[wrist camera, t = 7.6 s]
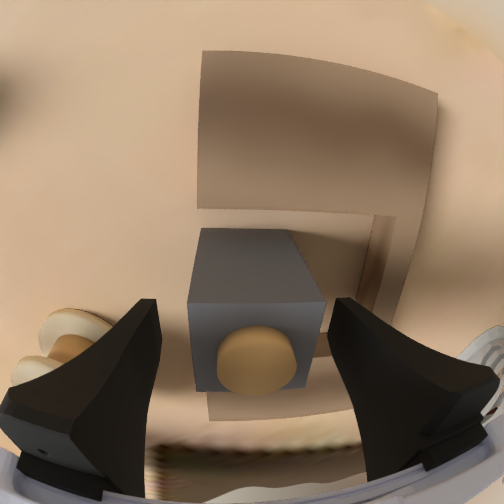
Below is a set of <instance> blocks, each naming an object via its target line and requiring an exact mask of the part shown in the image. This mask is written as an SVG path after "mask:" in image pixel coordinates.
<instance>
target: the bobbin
mask: <svg viewBox="0 0 504 504" xmlns="http://www.w3.org/2000/svg"><path fill="white" fill-rule="evenodd" d="M112 327H113V326H111V325H110V324H109V323H107V322H106V321H104V320H102V319H101V318H99V317H97V316H95V315H93V314H90V313H87V312H85V311H81V310H76V309H61V310H58V311H55V312H53V313H52V314H51V315H49V316H48V318H47V319H46V320H45V322H44V323H43V325H42V326H41V328H40V331H39V344H40V348H41V350H42V353H43V355H44V356H45V357H41V356H27V357H24V358H22V359H21V360H20V361H19V362H18V364H17V366H16V367H15V369H14V371H13V373H12V376H11V380H12V385H13V386H16V385H19V384H22V383H25V382H28V381H30V380H33V379H35V378H38V377H40V376H42V375H44V374H46V373H48V372H50V371H52V370H54V369H56V368H58V367H60V366H61V365H63V364H65V363H66V362H68V361H70V360H71V359H73V358H75V357H76V356H78V355H79V354H80V353H82V352H83V351H85V350H86V349H87V348H89V347H90V346H91V345H93V344H94V343H95V342H96V341H98V340H99V339H100V338H101V337H102V336H103V335H104V334H105V333H107V332H108V331H109V330H110V329H111V328H112Z"/></svg>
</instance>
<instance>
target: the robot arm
mask: <svg viewBox="0 0 504 504" xmlns="http://www.w3.org/2000/svg"><path fill="white" fill-rule="evenodd" d="M327 339H328V343H329V347H330V350H331V354H332V357H333V359H334V362H335V364H336V366H337V369H338V371H339V373H340V376H341V378H342V380H343V383H344V385H345V387H346V390H347V392H348V394H349V397H350V399H351V402H352V405H353V408H354V412H355V415H356V419H357V423H358V427H359V431H360V436H361V440H362V446H363V451H364V457H365V464H366V472H367V483H363V484H360V485H356V486H353V487H349V488H345V489H341V490H336V491H332V492H327V493H322V494H317V495H312V496H306V497H300V498H294V499H286V500H278V501H268V502H255V503H235V504H464V503H466V502H467V501H469V500H470V499H472V498H473V497H475V496H476V495H477V494H479V493H480V492H482V491H483V490H484V489H486V488H487V487H488V486H490V485H491V484H492V483H494V482H495V481H496V480H498V479H499V478H500V477H501V476H503V475H504V414H501V415H500V416H498V417H497V418H495V419H494V420H492V421H490V422H489V423H488V424H486V425H485V426H484V427H483V426H482V424H481V422H482V421H483V419H484V417H483V415H482V414H481V411H482V410H483V409H484V408H485V406H486V405H487V404H488V403H489V401H490V400H491V399H492V397H493V396H494V395H495V393H496V392H497V390H498V388H499V385H500V379H499V377H498V376H497V375H496V373H495V372H494V371H493V370H492V368H491V367H489V366H485V365H480V364H475V363H470V362H466V361H463V360H460V359H456V358H453V357H450V356H448V355H445V354H442V353H440V352H438V351H435V350H433V349H430V348H428V347H426V346H424V345H422V344H420V343H418V342H416V341H415V340H413V339H411V338H409V337H407V336H406V335H404V334H402V333H401V332H399V331H398V330H396V329H395V328H393V327H392V326H390V325H389V324H387V323H386V322H384V321H383V320H381V319H380V318H378V317H377V316H376V315H374V314H373V313H372V312H370V311H369V310H367V309H366V308H365V307H363V306H362V305H360V304H359V303H357V302H356V301H354V300H353V299H351V298H349V297H348V298H336V301H335V305H334V309H333V313H332V317H331V321H330V325H329V329H328V333H327ZM161 345H162V334H161V328H160V322H159V316H158V309H157V302H156V299H140V300H139V301H138V302H137V303H136V304H135V305H134V306H133V307H132V308H131V309H130V310H129V311H128V312H127V313H126V314H125V315H124V316H123V317H122V318H121V319H120V320H119V321H118V322H117V323H116V324H115V325H114V326H113V327H112V328H111V329H110V330H109V331H108V332H107V333H105V334H104V335H103V336H102V337H101V338H100V339H99V340H98V341H96V342H95V343H94V344H93V345H91V346H90V347H89V348H87V349H86V350H85V351H83V352H82V353H80V354H79V355H78V356H76V357H75V358H73V359H71V360H70V361H68V362H66V363H65V364H63V365H61V366H60V367H58V368H56V369H54V370H52V371H50V372H48V373H46V374H44V375H42V376H40V377H38V378H35V379H33V380H30V381H28V382H25V383H22V384H19V385H16V386H13V387H10V388H9V389H8V391H7V393H6V395H5V397H4V399H3V401H2V403H1V405H0V428H1V429H2V430H3V432H4V433H5V434H6V435H7V436H8V437H9V438H10V439H11V440H12V441H13V442H14V444H15V445H16V446H17V447H18V448H19V449H20V450H21V451H22V452H21V455H20V457H18V456H17V455H15V454H14V453H12V452H10V451H8V450H6V449H4V448H2V447H0V504H205V503H184V502H172V501H162V500H154V499H146V498H145V485H144V452H145V434H146V423H147V413H148V407H149V402H150V398H151V394H152V389H153V385H154V381H155V377H156V373H157V369H158V365H159V361H160V354H161Z"/></svg>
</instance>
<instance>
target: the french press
mask: <svg viewBox="0 0 504 504" xmlns="http://www.w3.org/2000/svg"><path fill="white" fill-rule="evenodd" d="M457 359H460V360H463V361H466V362H470V363H475V364H480V365H485V366H489V367H491V368H492V370H493V371H494V372H495V373H496V375H497V376H498V374H499V372H500V371H501V369H502V368H503V367H504V327H503V326H495V327H493V328H491V329H489V330H487V331H485V332H484V333H483V334H482V335H480V336H479V337H478V338H476V339H475V340H474V341H473V342H472V343H471V344H470V345H469V346H468V347H467V348H466V349H465V350H464V351H463V352H462V353H461V354H460V355H459V356H458V357H457ZM503 386H504V370H503V373H502V376H501V379H500V385H499V388H498V390H497V392H496V393H495V395H494V396H493V397H492V399H491V400H490V401H489V403H488V404H487V405H486V407H485V408H484V409H483V410H482V411H481V414H482V415H483V417H484V419H483V421H482V422H481V424H482V426H483V427H484V426H485V425H486V424H488V423H489V422H490V421H492V420H494V419H495V418H497V417H498V416H500V415H501V414H504V392H503V393H502V395H501V396H500V398H499V399H498V397H499V395H500V392H501V390H502V388H503ZM497 399H498V400H497ZM498 405H500V406H499V408H498V409H497V410H496V412H495V413H494V414H490V415H487V416H486V414H487V413H488V412H489V411H490V410H492V409H494V408H495V407H497V406H498ZM502 483H503V484H504V478H503V480H502Z"/></svg>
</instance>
